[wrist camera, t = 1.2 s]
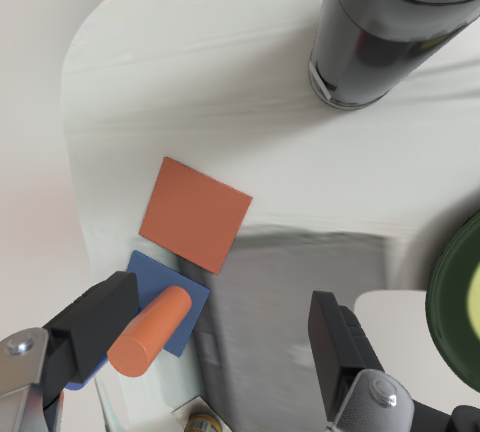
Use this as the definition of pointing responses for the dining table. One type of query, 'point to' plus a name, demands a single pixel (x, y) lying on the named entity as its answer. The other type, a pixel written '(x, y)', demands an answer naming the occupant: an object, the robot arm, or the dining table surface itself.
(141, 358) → the terracotta canister
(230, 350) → the dining table surface
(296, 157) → the dining table surface
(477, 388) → the plate
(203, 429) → the condiment
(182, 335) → the blue mat
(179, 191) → the terracotta mat
